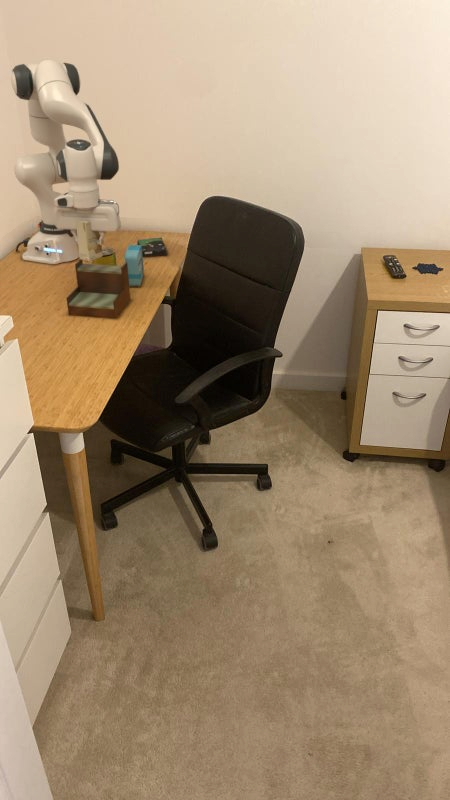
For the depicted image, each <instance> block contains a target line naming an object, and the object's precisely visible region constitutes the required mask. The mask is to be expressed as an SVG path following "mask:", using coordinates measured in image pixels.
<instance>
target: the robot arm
mask: <svg viewBox="0 0 450 800" xmlns="http://www.w3.org/2000/svg"><path fill="white" fill-rule="evenodd" d="M10 83H11V87H12V90H13V91H14V93H15V96H16V97H18V98H19V99H20V100H23V101H27V108H28V118H29V127H30V129H29V130H30V134H31V137H32V138H33V139H34V141H36V142H37V143H38V144H41V145H43V146H46V147H48V152H43V153H32V154H28V155H25V156H21V157H19V158H17V160H16V161H15V164H14V167H13V168H14V170H13V171H14V175H15V177H16V179H17V181H18V182H19V183H20V184H21V185H22V186H24V187H25V188H27V189H29V191H31V192H32V193H33V194H34V196H35V198H36V199H37V202H38V204H39V208H40V213H41V221H39V222H38V224H37V225H36V226H37V229H38V228H39V231H38V232H37V233H35V234H34V235H33V236H32V237H27V238H24V239H23V240H22V241H20V242H19V243H17V245H16V248H15V252H18V251H19V247H20V246H21V245H22V244H23V247H24V248H26V250H25V251H24V253H22V256H21V258H22V260H23V261H27V262H33V263H40V264H47V265H48V264H49V265H57V264H62V263H67V262H72V261H74V260H78V259H80V255H79V246H78V237H77V227H76V221H77V220H79V221H90V222H91V230H92V231H99V234H100V235H101V236H100V238H98V239H97V245H102V246H103V245H104V238H105V236H106V233H107V232H108V233H117V232H118V231H119V230H120V229H121V227H122V222H121V217H120V206H119V203H117V202H116V201H114V200H113V199H102V198H101V197H100V187H99V184H98V181H99V180H100V181H110V180H112V179H113V178H114V177H115V176H117V174H118V172H119V170H120V164H119V163H120V161H119V158H118V154H117V152H116V150H115V149H114V147H113V146H112V145H111V144H110V142H109V140H108V138H107V136H106V134H105V132H104V130H103V128H102V126H101V124H100V122H99V120H98V119H97V117H96V115H95V113H94V111H93V109H92V108H91V107H90V105H89V104H87V103H85V102H84V101H82V100H81V99H80V98H79V97H78V96H77V95H78V94H79V93H80V90H81V85H82V82H81V76H80V73H79V71H78V69H77V67H76V66H75V64H72V63H68V62H63V63H60V62H59V61H57V60H55V59H44V60H42V61H40V62H36V63H35V62H34V63H28V64H25V63H21V64H17V65H15V66H14V67H13V68H12V70H11V77H10ZM63 125H66V126H71V127H75V128H77V129H80V130H82V131H84V132H85V133H86V134H87V137H88V139H89V140H86V139H79V138H77V139H76V138H75V139H71V140H69V141H67V139H66V136H65V132H64V126H63ZM65 183H68V192H65V193H62V192H61V193H60V192H58V191H55V190H54V189H53V185H57V184H65Z"/></svg>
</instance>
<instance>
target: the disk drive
mask: <svg viewBox="0 0 450 800" xmlns="http://www.w3.org/2000/svg"><path fill="white" fill-rule="evenodd" d="M137 245H141V246H142V254H143V258H148V257H161V256H167V255H168V251H167V250H168V249H167V247H166V244H165V242H164V239H163V238H162V237H153V238H151V237H150V238H144V239H143V238H142V239H139V238H138V239H137Z"/></svg>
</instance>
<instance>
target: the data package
mask: <svg viewBox="0 0 450 800" xmlns="http://www.w3.org/2000/svg"><path fill="white" fill-rule="evenodd" d="M125 262H127V265H128V277H129V287H135V288H136V287H139V288H140V287H141V285H142V282H143V279H144V276H145V275H144V274H145V270H144V269H145V268H144V257H143V254H142V246H141V245H138V244H129V245H128V246H127V249H126V251H125V253H124V263H125Z"/></svg>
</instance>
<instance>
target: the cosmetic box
mask: <svg viewBox="0 0 450 800" xmlns="http://www.w3.org/2000/svg"><path fill="white" fill-rule="evenodd" d="M76 227H77V237H78V244H77V246H78V249H79V255H80V257H79V260H80V259H82V261H87V262H90V261H92V260H95V259H97V258H100V257H102V247H103V245H97V239H98V238H100V236H101V235H100V234H99V231H92V230H91V222H90V221H79V220H77V221H76Z"/></svg>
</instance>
